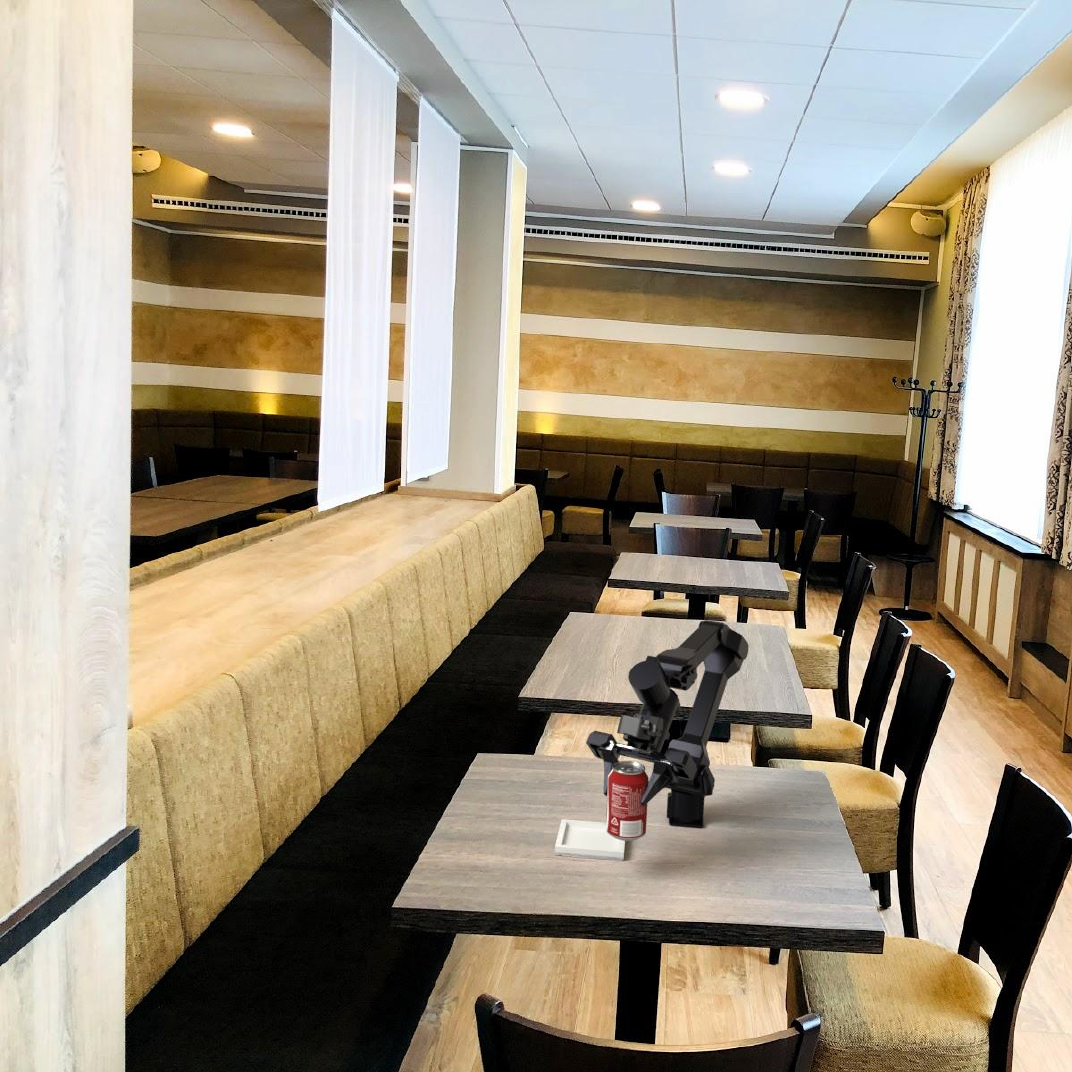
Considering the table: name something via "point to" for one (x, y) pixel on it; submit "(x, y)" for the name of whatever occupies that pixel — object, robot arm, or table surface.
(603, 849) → the tray
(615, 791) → the soda can
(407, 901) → the table surface
